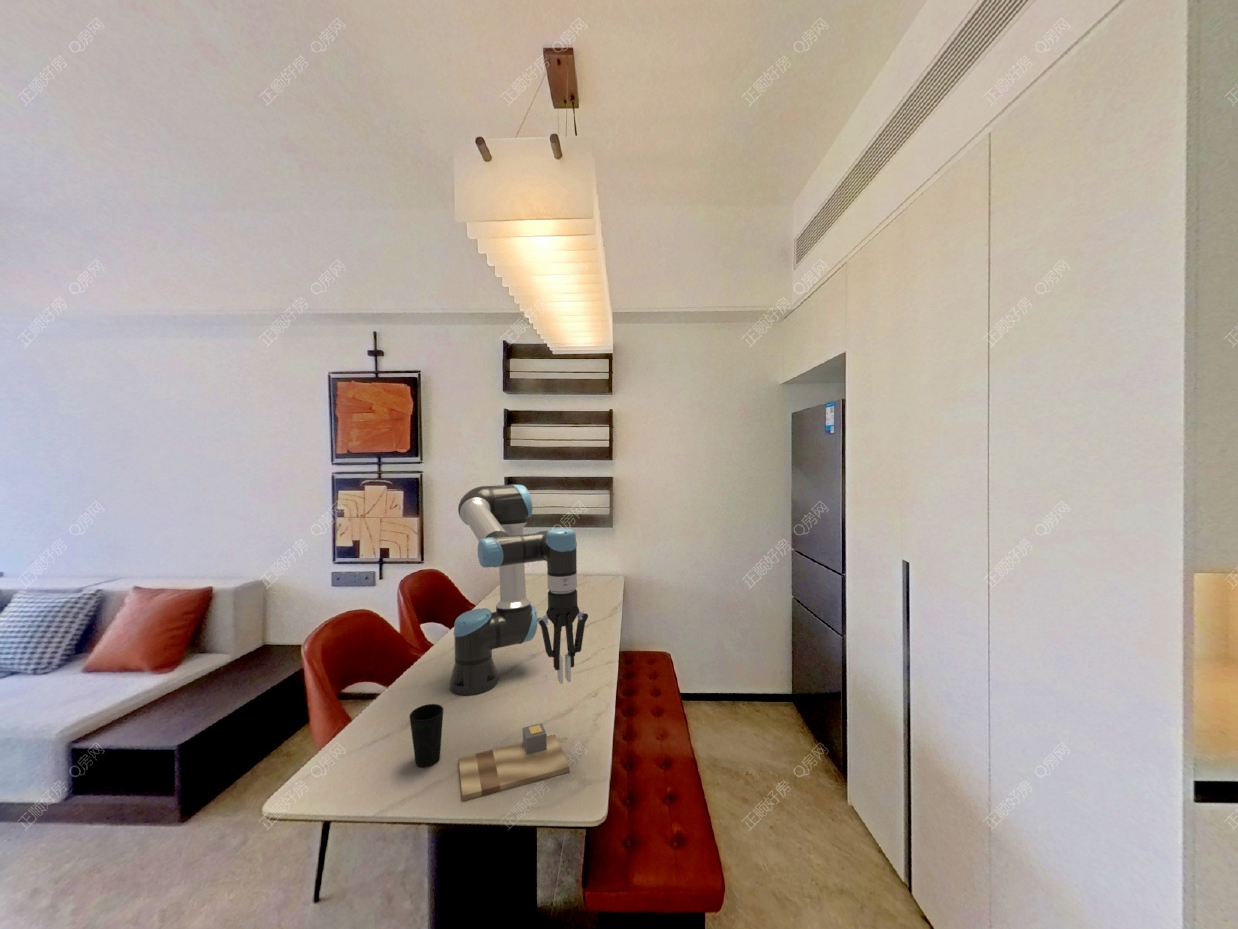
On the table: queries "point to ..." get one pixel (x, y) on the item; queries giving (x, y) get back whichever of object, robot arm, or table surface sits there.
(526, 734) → the grey block
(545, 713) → the table surface
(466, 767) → the panel
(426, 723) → the cup
